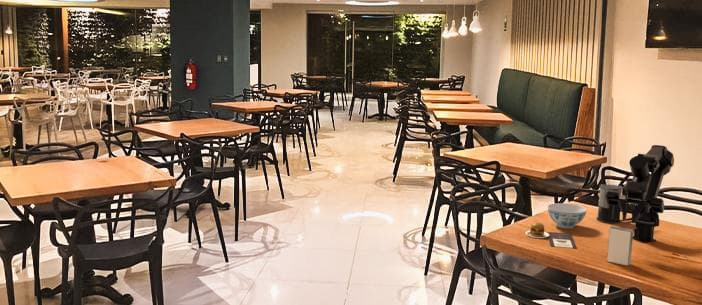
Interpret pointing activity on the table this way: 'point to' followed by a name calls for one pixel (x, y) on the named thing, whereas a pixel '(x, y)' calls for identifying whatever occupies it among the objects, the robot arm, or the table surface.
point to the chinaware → (566, 214)
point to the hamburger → (537, 231)
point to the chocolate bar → (561, 240)
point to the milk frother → (609, 211)
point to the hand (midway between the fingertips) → (628, 221)
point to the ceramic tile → (620, 245)
